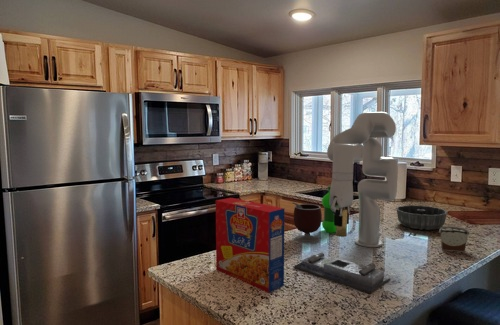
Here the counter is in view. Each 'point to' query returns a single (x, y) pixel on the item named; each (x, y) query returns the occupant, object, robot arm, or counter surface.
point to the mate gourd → (307, 222)
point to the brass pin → (343, 229)
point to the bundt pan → (421, 217)
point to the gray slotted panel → (344, 272)
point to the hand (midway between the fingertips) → (341, 224)
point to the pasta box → (250, 242)
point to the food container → (453, 238)
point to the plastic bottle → (328, 214)
